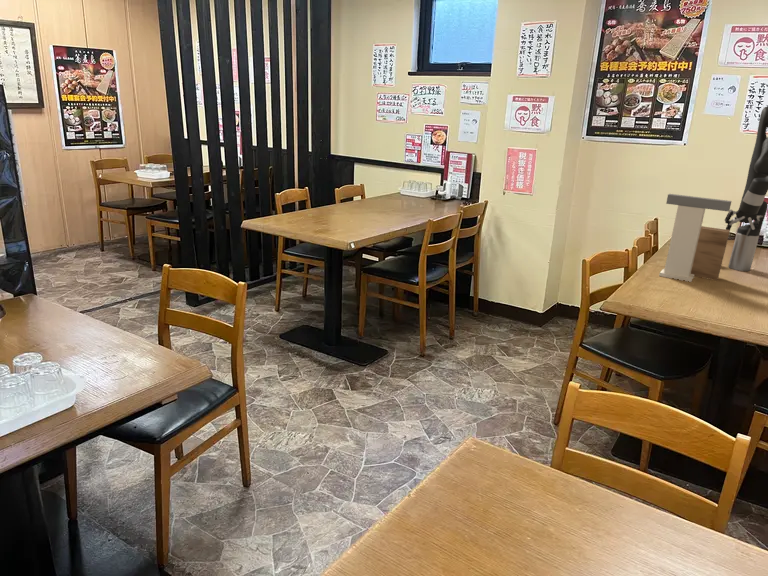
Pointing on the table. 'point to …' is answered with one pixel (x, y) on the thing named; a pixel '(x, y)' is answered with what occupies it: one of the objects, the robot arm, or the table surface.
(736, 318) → the table surface
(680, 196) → the grey block
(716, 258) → the brown wooden block
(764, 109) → the robot arm
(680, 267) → the tall stand
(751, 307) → the table surface
